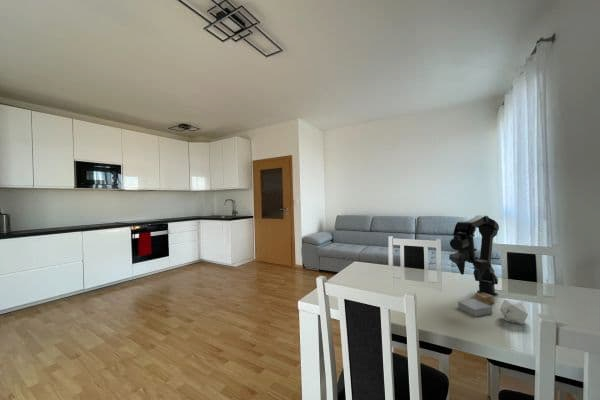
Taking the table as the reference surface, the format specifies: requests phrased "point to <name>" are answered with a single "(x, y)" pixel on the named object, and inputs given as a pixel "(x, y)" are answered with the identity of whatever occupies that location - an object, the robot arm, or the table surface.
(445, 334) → the table surface
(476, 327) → the table surface
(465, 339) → the table surface
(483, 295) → the block
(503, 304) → the die
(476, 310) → the base
